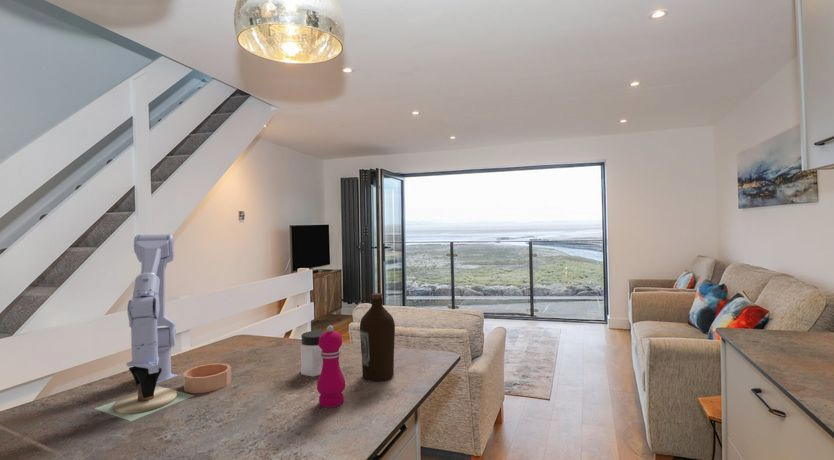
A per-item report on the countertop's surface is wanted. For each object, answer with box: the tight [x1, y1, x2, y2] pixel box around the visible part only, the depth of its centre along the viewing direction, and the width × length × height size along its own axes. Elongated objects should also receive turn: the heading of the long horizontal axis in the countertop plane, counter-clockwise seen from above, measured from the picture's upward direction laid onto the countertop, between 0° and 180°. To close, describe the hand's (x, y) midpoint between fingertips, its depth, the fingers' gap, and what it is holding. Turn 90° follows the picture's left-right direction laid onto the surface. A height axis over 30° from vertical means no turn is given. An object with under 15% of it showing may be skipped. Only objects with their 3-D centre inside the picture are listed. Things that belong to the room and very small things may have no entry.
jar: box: [300, 330, 326, 378], centre depth 129 cm, size 9×8×12 cm
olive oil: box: [359, 292, 396, 382], centre depth 125 cm, size 11×11×25 cm
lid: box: [113, 383, 178, 414], centre depth 108 cm, size 14×14×5 cm
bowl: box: [183, 362, 232, 394], centre depth 119 cm, size 12×12×4 cm
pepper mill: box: [316, 324, 346, 408], centre depth 107 cm, size 7×7×20 cm
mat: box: [94, 385, 195, 422], centre depth 108 cm, size 16×16×1 cm
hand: (145, 394), depth 108 cm, fingers closed on lid, 3 cm apart
